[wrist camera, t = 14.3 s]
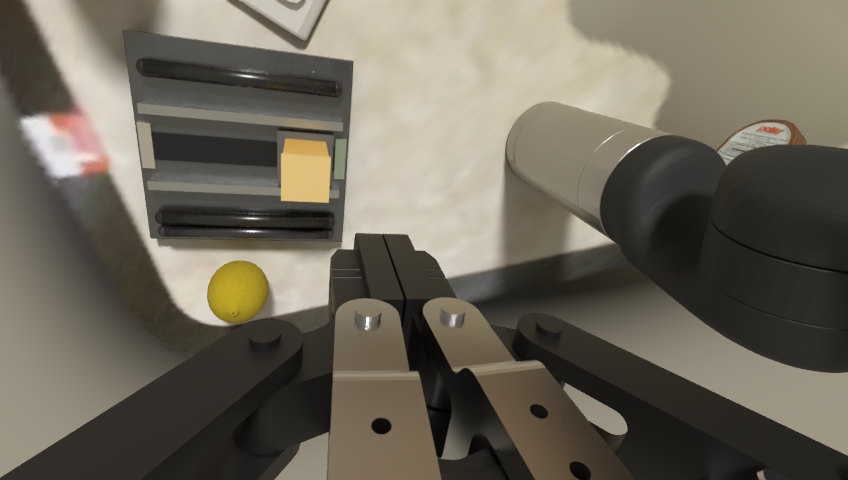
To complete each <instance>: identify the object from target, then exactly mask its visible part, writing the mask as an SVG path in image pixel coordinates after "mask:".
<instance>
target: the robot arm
mask: <svg viewBox="0 0 848 480" xmlns="http://www.w3.org/2000/svg"><path fill="white" fill-rule="evenodd" d="M506 152H507V159H508V163H509V166H510V167H511V169H512V171H513V172H514V173H515V174H516V175H517V176H518V177H519V178H520V179H522V180H523V181H525V182H526V183H528V184H529V185H531V186H532V187H534V188H535V189H536V190H538V191H539V192H541V193H542V194H544V195H545V196H547V197H548V198H550V199H551V200H553V201H554V202H556V203H557V204H559V205H560V206H562V207H563V208H565V209H566V210H568V211H569V212H570V213H572V214H573V215H575V216H576V217H578V218H579V219H581V220H582V221H584V222H585V223H587V224H588V225H590V226H591V227H593V228H595V229H596V230H598V231H599V232H601V233H602V234H604V235H605V236H607V237H608V238H610V239H611V240H613V241H614V242H616V243H617V244H618V245H619V246H620V248H621V251H622V253H623V254H624V256H625V257H626V259H627V260H628V261H629V262H630V263H631V264H632V265H633V266H634V267H635V268H636V269H638V270H639V271H640V272H641V273H642V274H644V275H645V276H646V277H647V278H649V279H650V280H651V281H652V282H654V283H655V284H656V285H657V286H659V287H660V288H661V289H662V290H664V291H665V292H666V293H667V294H669V295H670V296H671V297H672V298H673V299H675V300H676V301H677V302H678V303H680V304H681V305H682V306H683V307H685V308H686V309H687V310H688V311H689V312H691V313H692V314H693V315H695V316H696V317H697V318H699V319H700V320H701V321H703V322H704V323H705V324H707V325H708V326H710V327H711V328H713V329H714V330H716V331H717V332H719V333H720V334H721V335H723V336H724V337H726V338H728V339H730V340H731V341H733V342H735V343H737V344H739V345H741V346H743V347H744V348H746V349H748V350H750V351H753V352H754V353H757V354H759V355H761V356H763V357H766V358H769V359H772V360H774V361H777V362H780V363H783V364H786V365H789V366H793V367H797V368H801V369H806V370H812V371H819V372H828V373H843V372H848V149H844V148H836V147H827V146H817V145H796V144H780V145H770V146H763V147H758V148H754V149H751V150H748V151H745V152H743V153H741V154H740V155H738V156H736V157H735V158H734V159H733V160H732V161H731V162H730V163H729V164H728V165H726V164H725V162H724V160H723V158H722V157H721V156H720V155H719V154H718V153H717V152H716V151H715V150H714V149H713V148H711V147H710V146H708V145H706V144H704V143H701V142H698V141H696V140H692V139H689V138H685V137H681V136H677V135H673V134H669V133H666V132H662V131H658V130H655V129H651V128H647V127H643V126H640V125H636V124H632V123H629V122H625V121H622V120H618V119H614V118H611V117H607V116H604V115H600V114H596V113H593V112H589V111H586V110H582V109H579V108H575V107H572V106H568V105H564V104H561V103H555V102H546V103H541V104H538V105H535V106H533V107H532V108H530V109H528V110H527V111H526V112H525V113H523V114H522V115H521V116H520V117H519V119H518V120H517V121H516V122H515V124H514V126H513V127H512V129H511V131H510V134H509V137H508V140H507V148H506ZM328 305H329V321H330V322H329V323H327V324H326V325H325V326H323V327H321V328H319V329H317V330H314V331H311V332H307V333H303V334H302V333H301V331H300V330H299V329H298V328H297V327H296V326H295V325H293V324H291V323H289V322H286V321H283V320H277V319H262V320H256V321H252V322H249V323H246V324H244V325H242V326H240V327H238V328H236V329H235V330H233V331H232V332H230V333H228V334H227V335H225V336H224V337H222V338H220V339H219V340H217V341H216V342H214V343H213V344H211V345H209V346H208V347H206V348H205V349H203V350H201V351H200V352H198V353H197V354H195V355H194V356H192V357H190V358H189V359H187V360H186V361H184V362H183V363H181V364H179V365H178V366H176V367H175V368H173V369H171V370H170V371H168V372H167V373H165V374H164V375H162V376H160V377H159V378H157V379H156V380H154V381H153V382H151V383H149V384H148V385H146V386H145V387H143V388H141V389H140V390H138V391H137V392H135V393H134V394H132V395H130V396H129V397H127V398H126V399H124V400H123V401H121V402H119V403H118V404H116V405H115V406H113V407H111V408H110V409H108V410H107V411H105V412H103V413H102V414H100V415H99V416H97V417H96V418H94V419H93V420H91V421H89V422H88V423H86V424H84V425H83V426H82V427H80V428H78V429H77V430H75V431H74V432H72V433H70V434H69V435H67V436H66V437H64V438H63V439H61V440H59V441H58V442H56V443H54V444H53V445H51V446H50V447H48V448H47V449H45V450H43V451H42V452H40V453H39V454H37V455H35V456H34V457H32V458H31V459H29V460H28V461H26V462H24V463H23V464H21V465H20V466H18V467H16V468H15V469H13V470H12V471H10V472H9V473H7V474H6V475H4V476H2V477H1V478H0V480H274V479H275V478H276V477H277V476H278V475H279V473H280V472H281V471H282V470H283V469H284V468H285V467H286V466H287V465H288V463H289V462H290V461H291V460H292V459H293V458H294V456H295V455H296V454H297V452H298V450H299V447H300V443H301V442H304V441H306V440H308V439H311V438H314V437H316V436H319V435H322V434H324V433H327V432H329V439H328V459H327V478H326V480H848V456H847V455H845V454H843V453H840V452H839V451H836V450H834V449H832V448H830V447H828V446H826V445H824V444H822V443H820V442H817V441H815V440H813V439H811V438H809V437H807V436H805V435H803V434H801V433H799V432H796V431H794V430H792V429H790V428H788V427H786V426H784V425H782V424H779V423H777V422H775V421H773V420H771V419H769V418H767V417H765V416H763V415H761V414H759V413H756V412H754V411H752V410H750V409H748V408H746V407H744V406H742V405H740V404H737V403H735V402H733V401H731V400H729V399H726V398H725V397H723V396H720V395H719V394H716V393H714V392H712V391H710V390H708V389H706V388H704V387H701V386H700V385H697V384H695V383H693V382H691V381H689V380H687V379H685V378H683V377H681V376H679V375H676V374H674V373H672V372H670V371H668V370H666V369H664V368H662V367H659V366H657V365H655V364H653V363H651V362H649V361H647V360H645V359H643V358H640V357H638V356H636V355H634V354H632V353H630V352H628V351H626V350H624V349H622V348H619V347H617V346H615V345H613V344H611V343H609V342H607V341H605V340H603V339H601V338H598V337H596V336H594V335H592V334H590V333H588V332H586V331H583V330H581V329H580V328H577V327H575V326H573V325H571V324H569V323H567V322H565V321H563V320H561V319H558V318H556V317H553V316H550V315H546V314H538V313H533V314H527V315H524V316H522V317H521V318H520V319H519V321H518V325H517V328H516V329H510V328H505V327H499V326H494V325H489V324H488V322H487V321H486V320H485V318H484V317H483V316H482V314H481V313H480V312H479V310H478V309H477V308H476V307H474V306H473V305H471V304H470V303H468V302H465V301H463V300H460V299H457V297H456V295H455V294H454V292H453V290H452V288H451V286H450V284H449V283H448V281H447V279H446V278H445V275H444V273H443V272H442V270H441V268H440V266H439V264H438V262H437V261H436V259H435V258H433V257H432V256H431V255H429V254H428V253H427V252H425V251H415V249H414V247H413V245H412V243H411V241H410V239H409V237H408V235H405V234H382V235H381V234H365V233H356V234H355V240H354V250H342V249H338V250H337V251H336V252H335V253H334V255H333V256H332V257H331V263H330V283H329V303H328ZM565 383H567V384H569V385H571V386H572V387H574V388H576V389H578V390H580V391H581V392H583V393H585V394H587V395H589V396H590V397H592V398H594V399H596V400H598V401H599V402H602V403H603V404H605V405H607V406H608V407H610V408H612V409H614V410H615V411H617V412H618V413H620V414H621V416H622V417H623V418H624V419H625V421H626V423H627V427H628V431H627V432H626V433H625V434H623V435H613V434H610V433H608V432H606V431H605V430H603V429H601V428H600V427H598V426H596V425H595V424H593V423H591V422H590V421H588V420H587V418H586V417H585V416H584V415H583V413H582V412H581V411H580V410H579V408H578V407H577V406H576V405H575V403H574V402H573V401H572V400H571V398H570V397H569V396H568V395H567V393H566V392H565V391H564V390H563V388H564V385H565Z"/></svg>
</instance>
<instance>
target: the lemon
mask: <svg viewBox="0 0 848 480" xmlns="http://www.w3.org/2000/svg"><path fill="white" fill-rule="evenodd" d="M267 295H268V281H267V279H266V276H265V274H264V273H263V271H262V270H261V269H260V268H259V267H258V266H257V265H255V264H253V263H251V262H247V261H233V262H230V263H227V264H225V265H223V266H222V267H221V268H219V269H218V270H217V271H216V273H215V274H214V275H213V276H212V278H211V280H210V283H209V285H208V293H207V299H208V303H209V307H210V309H211V310H212V312H213V313H214V314H215V315H216V316H217V317H218V318H219V319H221V320H223V321H226V322H229V323H241V322H244V321H247V320H249V319H251V318H253V317H254V316H255V315H256V314H258V313H259V311H260V310H261V309H262V307H263V306H264V304H265V302H266V299H267Z"/></svg>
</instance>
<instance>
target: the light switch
mask: <svg viewBox="0 0 848 480" xmlns="http://www.w3.org/2000/svg"><path fill="white" fill-rule="evenodd" d="M239 1H241V2H242V3H244V4H245V5H247V6H248V7H250V8H252V9H253V10H255V11H256V12H258V13H260V14H261V15H263V16H264V17H266V18H267V19H269V20H271V21H272V22H274V23H275V24H277V25H279V26H280V27H282V28H283V29H285V30H286V31H288V32H290V33H291V34H293V35H294V36H296V37H298V38H299V39H301V40H303V41H306V40H307V39H308V37H309V35H310V33H311V31H312V29H313V27H314V25H315V23H316V20H317V18H318V16H319V14H320V12H321V10H322V8H323V6H324V4H325V2H326V0H239Z"/></svg>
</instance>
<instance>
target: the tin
mask: <svg viewBox="0 0 848 480" xmlns="http://www.w3.org/2000/svg"><path fill="white" fill-rule="evenodd" d="M780 144H796V145H807V141H806V139H805V138H804V136H803V135H801V133H800V131H799V130H798V128H797V127H796V126H795V125H794V124H793V123H791V122H788V121H785V120H762V121H759V122H755V123H752V124H750V125H748V126H745V127H743V128H742V129H740V130H738V131H737V132H735V133H734V134H732V135H731V136H730V137H729V138H728V139H727V140H726V141H725V142H724V143H723V144H722V145H721V146H720V147H719V148H718V149H717V150H716V152H717V153H718V154H719V155H720V156H721V157H722V158H723V160H724V162H725V164H726V165H728V164H729V163H730V162H731V161H732V160H733V159H734V158H735V157H736V156H738V155H740V154H741V153H743V152H745V151H748V150H751V149H754V148H758V147H763V146H770V145H780Z"/></svg>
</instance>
